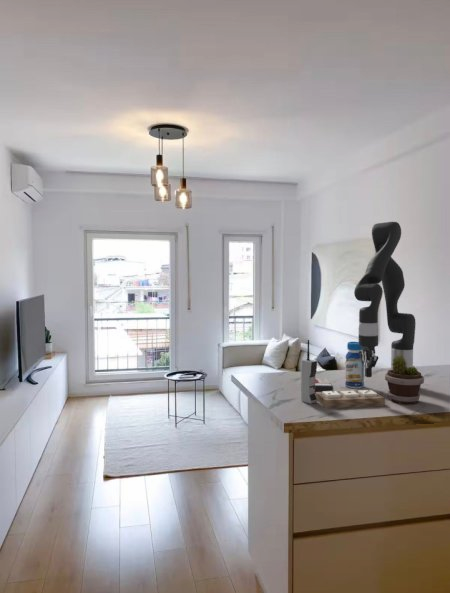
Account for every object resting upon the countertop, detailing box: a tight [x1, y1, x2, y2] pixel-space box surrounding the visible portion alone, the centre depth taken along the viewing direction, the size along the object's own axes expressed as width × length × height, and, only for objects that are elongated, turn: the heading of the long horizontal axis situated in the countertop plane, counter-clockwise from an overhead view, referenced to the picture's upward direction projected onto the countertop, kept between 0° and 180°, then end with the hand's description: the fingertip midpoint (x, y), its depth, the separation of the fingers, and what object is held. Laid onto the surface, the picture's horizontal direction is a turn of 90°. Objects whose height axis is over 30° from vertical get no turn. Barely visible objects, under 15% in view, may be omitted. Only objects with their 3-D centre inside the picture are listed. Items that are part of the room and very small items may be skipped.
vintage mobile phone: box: [300, 339, 318, 405], centre depth 184 cm, size 4×5×25 cm
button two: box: [322, 390, 341, 398], centre depth 182 cm, size 6×6×3 cm
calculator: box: [315, 378, 334, 392], centre depth 204 cm, size 11×4×15 cm
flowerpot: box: [384, 354, 425, 405], centre depth 185 cm, size 14×15×20 cm
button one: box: [340, 390, 359, 397], centre depth 183 cm, size 6×6×3 cm
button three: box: [357, 389, 378, 397], centre depth 184 cm, size 6×6×3 cm
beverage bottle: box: [344, 341, 365, 389], centre depth 208 cm, size 8×8×20 cm
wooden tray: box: [315, 390, 386, 409], centre depth 184 cm, size 24×12×3 cm, turn 98°
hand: (368, 376), depth 184 cm, fingers closed
